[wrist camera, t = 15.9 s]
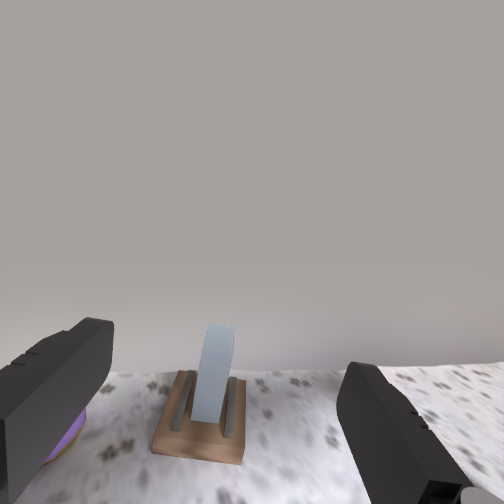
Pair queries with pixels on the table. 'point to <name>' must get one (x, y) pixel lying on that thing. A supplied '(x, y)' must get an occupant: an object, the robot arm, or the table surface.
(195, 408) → the light blue rectangular block
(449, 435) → the table surface
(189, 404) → the display stand
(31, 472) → the robot arm
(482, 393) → the table surface
